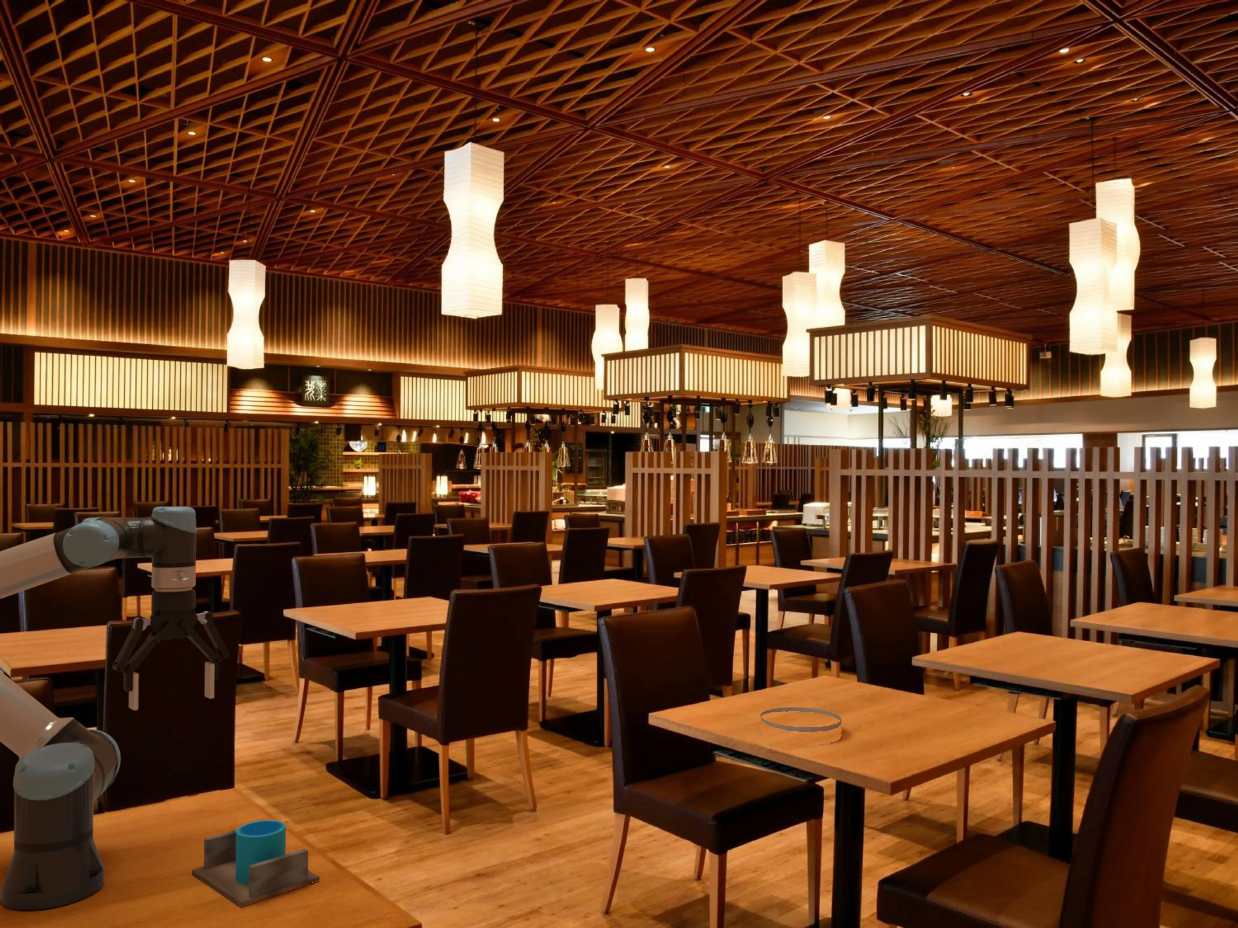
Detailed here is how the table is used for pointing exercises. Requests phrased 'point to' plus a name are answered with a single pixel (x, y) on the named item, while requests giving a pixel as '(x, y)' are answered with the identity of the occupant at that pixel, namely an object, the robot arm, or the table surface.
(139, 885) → the table surface
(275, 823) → the mug
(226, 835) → the holder
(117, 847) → the table surface
